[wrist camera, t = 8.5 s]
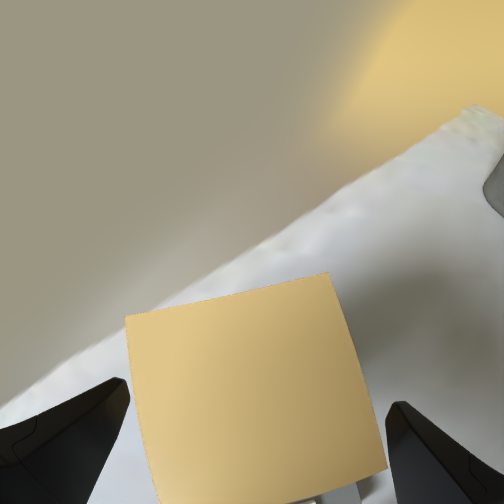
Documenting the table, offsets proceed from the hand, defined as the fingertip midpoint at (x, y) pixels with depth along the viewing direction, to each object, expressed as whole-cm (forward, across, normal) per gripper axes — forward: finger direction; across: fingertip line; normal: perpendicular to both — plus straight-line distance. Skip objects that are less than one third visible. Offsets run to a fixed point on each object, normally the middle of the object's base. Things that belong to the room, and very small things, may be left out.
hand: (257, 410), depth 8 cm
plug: (+7, 0, +6) cm, 9 cm away
